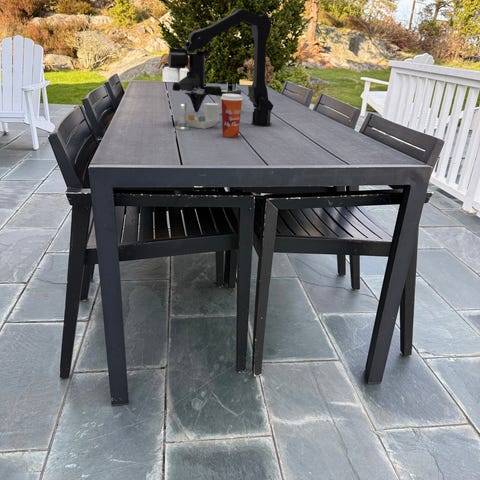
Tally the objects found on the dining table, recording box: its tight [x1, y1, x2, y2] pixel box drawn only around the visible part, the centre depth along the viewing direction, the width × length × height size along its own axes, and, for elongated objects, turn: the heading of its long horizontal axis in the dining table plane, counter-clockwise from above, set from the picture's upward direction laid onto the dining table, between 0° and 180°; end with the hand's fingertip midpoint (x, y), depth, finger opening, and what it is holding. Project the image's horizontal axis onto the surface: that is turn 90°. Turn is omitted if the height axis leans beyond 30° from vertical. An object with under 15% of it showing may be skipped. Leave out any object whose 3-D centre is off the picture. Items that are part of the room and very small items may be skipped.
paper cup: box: [221, 94, 244, 138], centre depth 153 cm, size 8×8×14 cm
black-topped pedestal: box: [214, 81, 242, 115], centre depth 200 cm, size 28×26×13 cm
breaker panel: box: [187, 114, 216, 130], centre depth 170 cm, size 12×8×4 cm, turn 62°
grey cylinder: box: [203, 102, 220, 124], centre depth 179 cm, size 7×7×7 cm
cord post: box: [175, 102, 190, 131], centre depth 161 cm, size 5×5×9 cm
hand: (196, 111), depth 169 cm, fingers closed
